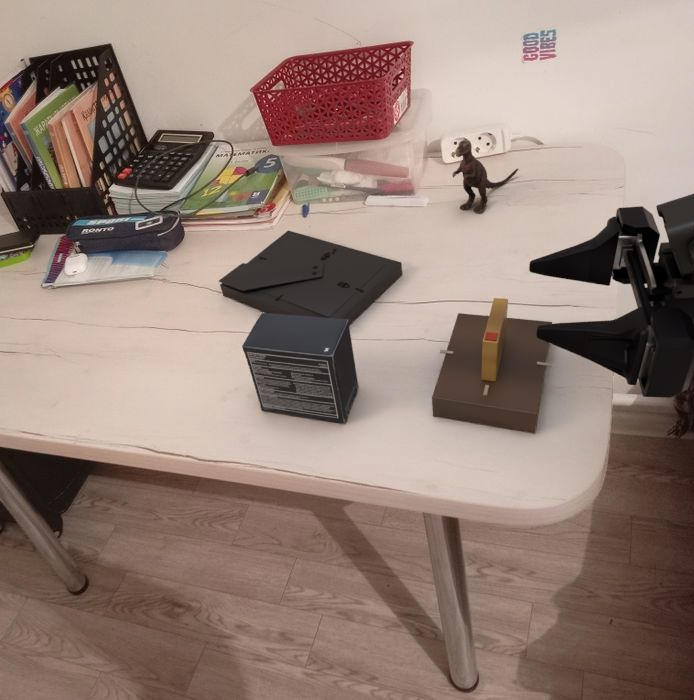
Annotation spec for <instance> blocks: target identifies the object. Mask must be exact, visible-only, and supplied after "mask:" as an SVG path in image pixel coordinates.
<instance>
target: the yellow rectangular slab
mask: <svg viewBox="0 0 694 700" xmlns="http://www.w3.org/2000/svg"><path fill="white" fill-rule="evenodd" d="M508 307H509V299H508V298H499V297H494V298H493V300H492V304H491V309H490V311H489V315H488V316H489V319H488V323H487V327H486V330H485V334H484V338H483V346H482V377H481V379H482V380H488V381H496V378H497V373H498V369H499V365H500V360H501V356H502V352H503V347H504V343H505V339H506V326H507V318H508Z"/></svg>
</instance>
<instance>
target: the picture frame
mask: <svg viewBox="0 0 694 700" xmlns="http://www.w3.org/2000/svg"><path fill="white" fill-rule="evenodd" d="M402 275H403V266H402V261H398V260H394V259H391V258H387V257H384V256H380V255H377V254H373V253H370V252H366V251H363V250H359V249H356V248H352V247H348V246H345V245H342V244H337V243H336V242H335V243H334V242H331V241H327V240H324V239H320V238H317V237H313V236H310V235H306V234H302V233H299V232H295V231H291V230H287V231H285V232H284V233H283V234H282V235H280V236H279V237H278V238H277V239H276V240H274V241H273V242H271V244H269V245H268V246H266V248H264V249H263V250H262V251H260V252H258V254H257V255H255V256H254V257H253V258H251V259H250V260H249V261H247V262H245V263H242V262H241V263H240V264H239V265H237V266H236V267H234V268H233V269H232V270H231V271H230V272H228V273H227V274H226V275H223V277H221V278H220V279H219V280H218V282H219V286H220V290H221V293H222V296H223V297H226V298H228V299H231V300H233V301H235V302H238V303H239V304H240V303H241V304H243V305H245V306H248V307H250V308H253V309H254V310H258V311H260V312H261V313H270V314H283V315H295V316H308V317H321V318H335V319H348V321H349V326H350V325H352V323H354V322H355V320H357V319H358V318H359V317H360V316H361V315H362V314H363V313H364V312H365V311H366V310H368V308H369V307H370V306H371V305H372V304H374V302H375V301H377V300H378V299H379V297H381V295H383V294H384V293H385V292H386V291H387V290H388V289H389V288H390V287H391V286H392V285H393V284H394V283H395V282H396V281H398V279H400V277H401V276H402Z"/></svg>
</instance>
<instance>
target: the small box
mask: <svg viewBox="0 0 694 700" xmlns="http://www.w3.org/2000/svg"><path fill="white" fill-rule="evenodd" d="M241 348H242V351H243V353H244V356H245V359H246V361H247V366H248V369H249V372H250V375H251V379H252V381H253V385H254V389H255V392H256V396H257V398H258V402H259V406H260V410H261V411H263V412H268V413H274V414H281V415H287V416H292V417H293V416H294V417H298V418H305V419H312V420H318V421H324V422H329V423H330V422H331V423H337V424H345V423H346V422H347V421H348V418H349V415H350V411H351V409H352V406H353V403H354V400H355V399H356V397H357V394H358V391H359V386H360V385H359V382H358V376H357V368H356V362H355V355H354V350H353V343H352V335H351V329H350V325H349V321H348V319H335V318H321V317H308V316H295V315H283V314H270V313H265V312H261V313H260V315H259V317H258V318H257V320H256V321H255V323H254V325H253V326H252V328H251V330H250V331H249V334H248V335H247V337H246V338H245V341H244V342H243V344H242V345H241Z"/></svg>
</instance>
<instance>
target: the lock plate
mask: <svg viewBox="0 0 694 700" xmlns="http://www.w3.org/2000/svg"><path fill="white" fill-rule="evenodd" d="M488 319H489V315H484V314H483V315H481V314H472V313H471V314H470V313H460V312H458V313H457V316H456V319H455V322H454V325H453V329H452V332H451V335H450V338H449V340H448V341H449V342H448V344H447V348H446V350H445V349H440V351H439V354H445V355H444V357H443V361H442V364H441V367H440V370H439V374H438V377H437V380H436V383H435V386H434V389H433V393H432V396H431V405H432V406H431V407H432V408H431V410H432V416H433V417H436V418H442V419H448V420H455V421H460V422H465V423H471V424H476V425H483V426H489V427H495V428H500V429H506V430H512V431H518V432H524V433H529V434H536V430H537V423H538V418H539V411H540V405H541V398H542V394H543V393H542V392H543V387H544V382H545V374H546V369H547V367H550V368H551V367H552V366H553V362H548V356H549V350H550V343H548V342H546V341H543V340H541V339H539V338H537V336H536V331H537V327H538V326H540V325H548V324H553V322H552V321H547V320H546V321H545V320H536V319H525V318H515V317H507V326H506V339H505V343H504V347H503V352H502V356H501V360H500V365H499V369H498V373H497V378H496V381H488V380H482V379H481V377H482V346H483V338H484V334H485V330H486V327H487V323H488Z"/></svg>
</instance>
